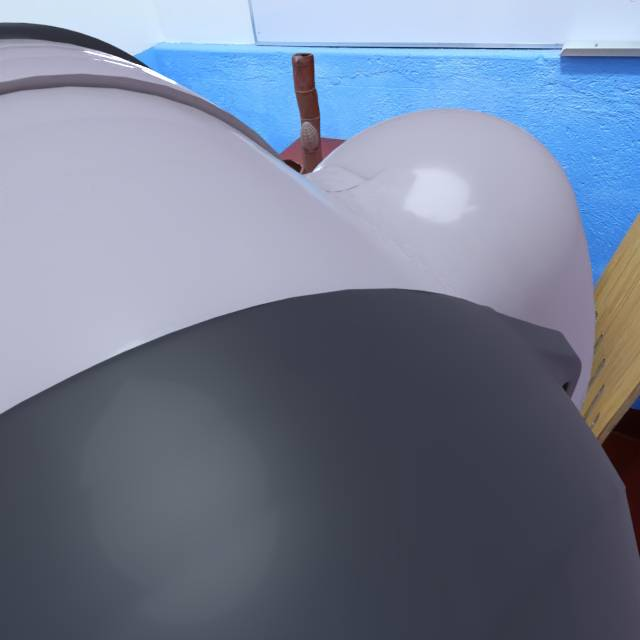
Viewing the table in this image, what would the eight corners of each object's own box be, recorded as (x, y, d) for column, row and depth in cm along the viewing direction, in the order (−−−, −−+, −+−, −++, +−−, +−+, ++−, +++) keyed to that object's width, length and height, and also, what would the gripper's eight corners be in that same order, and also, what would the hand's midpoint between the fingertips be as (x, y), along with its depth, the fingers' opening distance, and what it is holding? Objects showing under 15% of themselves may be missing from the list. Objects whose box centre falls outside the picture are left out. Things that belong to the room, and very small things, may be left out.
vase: (323, 204, 109) (302, 62, 89) (295, 200, 112) (270, 62, 92) (342, 182, 115) (327, 45, 95) (316, 179, 118) (296, 46, 98)
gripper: (435, 387, 57) (330, 363, 62) (385, 555, 43) (256, 506, 49) (434, 418, 61) (335, 393, 66) (387, 579, 48) (268, 532, 53)
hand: (301, 442), depth 57 cm, fingers closed on pill bottle, 5 cm apart
